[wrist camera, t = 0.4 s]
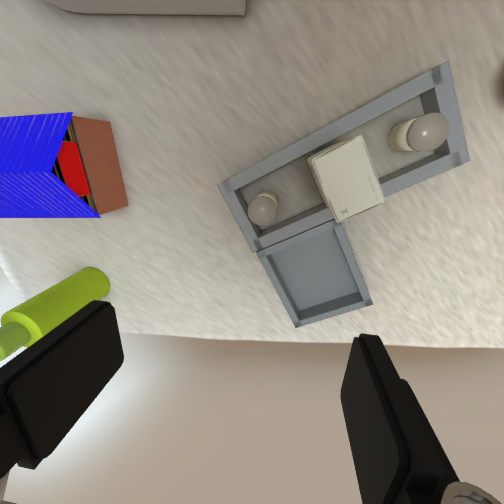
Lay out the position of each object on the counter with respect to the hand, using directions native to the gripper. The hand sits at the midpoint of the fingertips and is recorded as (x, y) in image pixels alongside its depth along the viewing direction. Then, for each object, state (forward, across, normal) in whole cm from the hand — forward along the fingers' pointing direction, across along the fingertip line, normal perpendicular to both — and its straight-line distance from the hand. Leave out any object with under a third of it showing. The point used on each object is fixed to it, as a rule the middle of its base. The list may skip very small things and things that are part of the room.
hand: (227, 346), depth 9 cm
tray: (+27, -7, +9) cm, 29 cm away
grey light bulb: (+27, +1, -1) cm, 27 cm away
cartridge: (+27, -15, -10) cm, 32 cm away
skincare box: (+27, -7, -5) cm, 29 cm away
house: (+28, +32, -4) cm, 42 cm away
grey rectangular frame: (+27, -7, -5) cm, 28 cm away
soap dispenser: (+28, +31, +15) cm, 44 cm away
